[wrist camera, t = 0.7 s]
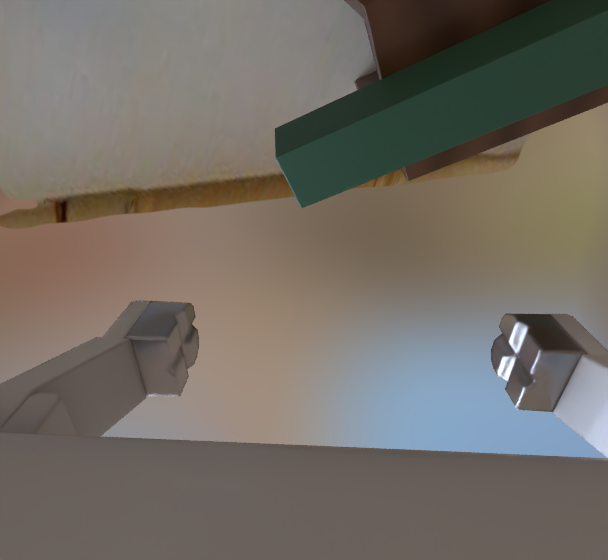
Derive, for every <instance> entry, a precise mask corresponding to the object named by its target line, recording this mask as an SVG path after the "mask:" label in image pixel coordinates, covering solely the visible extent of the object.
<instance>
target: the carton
mask: <svg viewBox="0 0 608 560" xmlns="http://www.w3.org/2000/svg"><path fill="white" fill-rule="evenodd" d="M606 85H608V0H551V1H549V2H546V3H544V4H542V5H540V6H538V7H536V8H533V9H531V10H529V11H527V12H525V13H523V14H521V15H518V16H516V17H514V18H512V19H510V20H508V21H505V22H503V23H501V24H499V25H497V26H495V27H493V28H490V29H488V30H486V31H484V32H482V33H480V34H477V35H475V36H473V37H471V38H469V39H467V40H465V41H462V42H460V43H458V44H456V45H454V46H452V47H450V48H447V49H445V50H443V51H441V52H439V53H437V54H434V55H432V56H430V57H428V58H426V59H424V60H422V61H419V62H417V63H415V64H413V65H411V66H409V67H406V68H404V69H402V70H400V71H398V72H396V73H394V74H391V75H389V76H387V77H385V78H383V79H381V80H379V81H376V82H374V83H372V84H370V85H368V86H366V87H363V88H361V89H359V90H357V91H355V92H353V93H351V94H348V95H346V96H344V97H342V98H340V99H338V100H335V101H333V102H331V103H329V104H327V105H325V106H323V107H320V108H318V109H316V110H314V111H312V112H310V113H308V114H305V115H303V116H301V117H299V118H297V119H295V120H292V121H290V122H288V123H286V124H284V125H282V126H280V127H277V128H275V150H276V160H277V162H278V164H279V166H280V168H281V169H282V171H283V173H284V175H285V177H286V179H287V181H288V183H289V185H290V187H291V189H292V191H293V193H294V195H295V197H296V199H297V201H298V203H299V205H300V207H301V208H303V207H306V206H308V205H311V204H314V203H316V202H318V201H321V200H323V199H326V198H328V197H331V196H333V195H336V194H338V193H341V192H343V191H346V190H348V189H351V188H353V187H356V186H358V185H361V184H363V183H366V182H368V181H371V180H373V179H376V178H378V177H380V176H383V175H385V174H388V173H390V172H393V171H395V170H398V169H400V168H403V167H405V166H408V165H410V164H413V163H415V162H418V161H420V160H423V159H425V158H428V157H430V156H432V155H435V154H437V153H440V152H442V151H445V150H447V149H450V148H452V147H455V146H457V145H460V144H462V143H465V142H467V141H470V140H472V139H475V138H477V137H480V136H482V135H484V134H487V133H489V132H492V131H494V130H497V129H499V128H502V127H504V126H507V125H509V124H512V123H514V122H517V121H519V120H522V119H524V118H527V117H529V116H532V115H534V114H536V113H539V112H541V111H544V110H546V109H549V108H551V107H554V106H556V105H559V104H561V103H564V102H566V101H569V100H571V99H574V98H576V97H579V96H581V95H584V94H586V93H588V92H591V91H593V90H596V89H598V88H601V87H603V86H606Z"/></svg>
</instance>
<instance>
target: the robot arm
mask: <svg viewBox="0 0 608 560" xmlns="http://www.w3.org/2000/svg"><path fill="white" fill-rule="evenodd" d="M194 318H195V312H194V307H193V305H192V304H191V303H180V302H160V301H133V302H131V303H130V304H129V305H128V306H127V308H126V309H125V310H124V311H123V312H122V314H121V315H120V316H119V317H118V319H117V320H116V321H115V322H114V324H113V325H112V326H111V327H110V328H109V330H108V331H107V332H106V333H105V335H104V336H103V337H96V338H94V339H92V340H90V341H87V342H85V343H83V344H81V345H79V346H77V347H75V348H73V349H71V350H69V351H67V352H65V353H63V354H61V355H59V356H57V357H55V358H53V359H51V360H48V361H46V362H45V363H43V364H41V365H38V366H36V367H34V368H32V369H30V370H28V371H26V372H24V373H22V374H20V375H18V376H16V377H14V378H11V379H9V380H7V381H6V382H3V383H1V384H0V560H608V351H607V349H606V348H604V347H603V346H602V345H601V344H600V343H599V342H598V341H597V340H596V339H595V338H594V337H593V336H592V335H591V334H590V333H589V332H588V331H587V330H586V329H585V328H584V327H583V326H582V325H581V324H580V323H579V322H578V321H577V320H576V319H575V318H574V317H573V316H570V315H568V314H505V315H504V316H503V318H502V319H501V322H500V325H499V328H500V329H501V332H502V334H501V335H500V336H499V337H497V338H496V339H495V340H494V342H493V346H492V349H491V361H492V365H493V368H494V370H495V372H496V374H497V376H499V377H500V378H502V379H503V380H505V381H506V382H507V385H506V388H505V390H506V391H507V393H508V395H509V396H510V398H511V400H512V402H513V403H514V405H515V407H516V408H517V410H532V411H549V412H553V414H554V415H555V416H557V417H558V418H559V419H560V420H561V421H563V422H564V423H565V424H566V425H568V426H569V427H570V428H571V429H573V430H574V431H575V432H576V433H577V434H579V435H580V436H581V437H582V438H584V439H585V440H586V441H587V442H589V443H590V444H591V445H592V446H594V447H595V448H596V449H597V450H598V451H600V452H601V453H602V454H603V455H605V456H606V457H607V458H586V457H561V456H560V457H559V456H539V455H538V456H537V455H515V454H493V453H471V452H448V451H426V450H403V449H379V448H356V447H354V448H353V447H331V446H307V445H283V444H260V443H236V442H234V443H233V442H213V441H190V440H166V439H143V438H119V437H100V436H101V435H103V434H104V433H105V432H106V431H107V430H109V429H110V428H111V427H112V426H113V425H114V424H116V423H117V422H118V421H119V420H120V419H121V418H123V417H124V416H125V415H126V414H128V413H129V412H130V411H131V410H132V409H133V408H135V407H136V406H137V405H138V404H139V403H141V402H142V401H143V400H144V399H145V398H146V396H180V395H181V393H182V391H183V388H184V386H185V384H186V382H187V379H188V371H187V369H188V368H189V367H191V366H192V365H194V363H195V360H196V358H197V354H198V348H199V336H198V330H197V329H196V328H195V327H194V326H193V325H192V322H193V320H194Z"/></svg>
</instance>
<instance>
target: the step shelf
mask: <svg viewBox="0 0 608 560" xmlns="http://www.w3.org/2000/svg"><path fill="white" fill-rule="evenodd" d="M345 1H346V2H347V3H348V4H349V5H350V6H351V7H352V8H353V9H354V10H355V11H356V12H357V13H358V14H359V15H360V16H362V17H363V18H364V21H365V25H366V29H367V33H368V37H369V41H370V45H371V49H372V53H373V57H374V61H375V64H376V68H377V71H376V72H374V73H371V74H369V75H367V76H365V77H363V78H361V79H359V80H357V81H355V84H356V88H357V90H359V89H361V88H363V87H366V86H368V85H370V84H372V83H374V82H376V81H379V80H381V79H383V78H385V77H387V76H389V75H391V74H394V73H396V72H398V71H400V70H402V69H404V68H406V67H409V66H411V65H413V64H415V63H417V62H419V61H422V60H424V59H426V58H428V57H430V56H432V55H434V54H437V53H439V52H441V51H443V50H445V49H447V48H450V47H452V46H454V45H456V44H458V43H460V42H462V41H465V40H467V39H469V38H471V37H473V36H475V35H477V34H480V33H482V32H484V31H486V30H488V29H490V28H493V27H495V26H497V25H499V24H501V23H503V22H505V21H508V20H510V19H512V18H514V17H516V16H518V15H521V14H523V13H525V12H527V11H529V10H531V9H533V8H536V7H538V6H540V5H542V4H544V3H546V2H549V1H551V0H345ZM607 102H608V85H606V86H603V87H601V88H598V89H596V90H593V91H591V92H588V93H586V94H584V95H581V96H579V97H576V98H574V99H571V100H569V101H566V102H564V103H561V104H559V105H556V106H554V107H551V108H549V109H546V110H544V111H541V112H539V113H536V114H534V115H532V116H529V117H527V118H524V119H522V120H519V121H517V122H514V123H512V124H509V125H507V126H504V127H502V128H499V129H497V130H494V131H492V132H489V133H487V134H484V135H482V136H480V137H477V138H475V139H472V140H470V141H467V142H465V143H462V144H460V145H457V146H455V147H452V148H450V149H447V150H445V151H442V152H440V153H437V154H435V155H432V156H430V157H428V158H425V159H423V160H420V161H418V162H415V163H413V164H410V165H408V166H405V167H403V168H401V170H402V172H403V173H404V175H405V177H406V179H407V181H410V180H412V179H415V178H418V177H420V176H423V175H425V174H428V173H430V172H433V171H435V170H438V169H440V168H443V167H445V166H448V165H451V164H453V163H456V162H458V161H461V160H463V159H466V158H468V157H471V156H473V155H476V154H478V153H481V152H484V151H486V150H489V149H491V148H494V147H496V146H499V145H501V144H504V143H506V142H509V141H511V140H514V139H517V138H519V137H522V136H524V135H527V134H529V133H532V132H534V131H537V130H539V129H542V128H544V127H547V126H549V125H552V124H555V123H557V122H560V121H562V120H564V119H567V118H570V117H572V116H575V115H577V114H580V113H582V112H585V111H588V110H590V109H593V108H595V107H597V106H600V105H603V104H605V103H607Z"/></svg>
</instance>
